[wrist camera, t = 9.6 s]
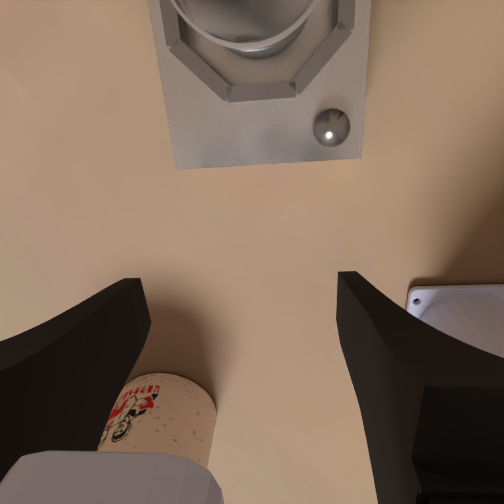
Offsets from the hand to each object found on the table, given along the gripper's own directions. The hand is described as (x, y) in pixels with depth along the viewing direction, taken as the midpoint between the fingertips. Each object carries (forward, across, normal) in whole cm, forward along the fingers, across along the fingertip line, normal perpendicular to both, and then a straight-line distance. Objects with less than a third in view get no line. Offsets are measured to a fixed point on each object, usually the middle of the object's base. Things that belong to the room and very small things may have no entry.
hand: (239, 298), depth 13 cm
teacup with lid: (+11, +10, +19) cm, 24 cm away
